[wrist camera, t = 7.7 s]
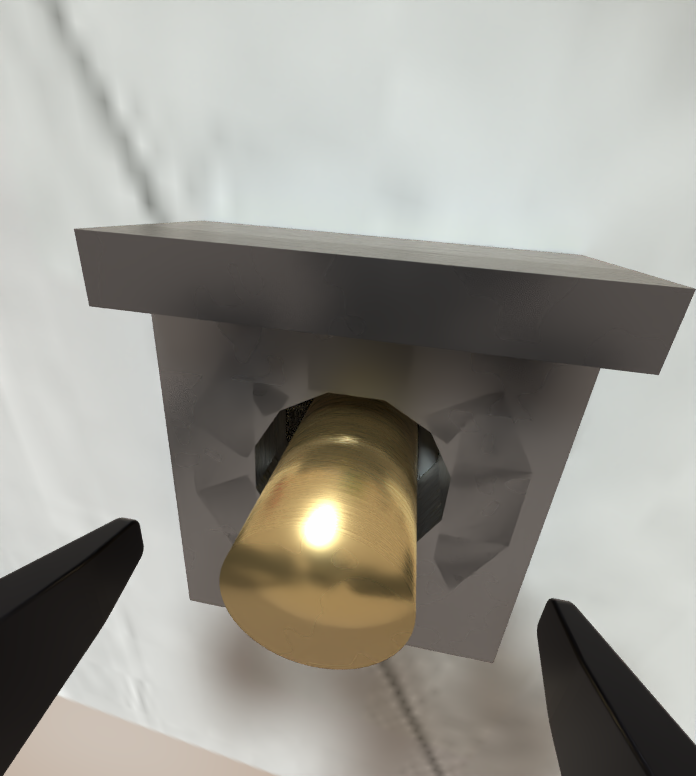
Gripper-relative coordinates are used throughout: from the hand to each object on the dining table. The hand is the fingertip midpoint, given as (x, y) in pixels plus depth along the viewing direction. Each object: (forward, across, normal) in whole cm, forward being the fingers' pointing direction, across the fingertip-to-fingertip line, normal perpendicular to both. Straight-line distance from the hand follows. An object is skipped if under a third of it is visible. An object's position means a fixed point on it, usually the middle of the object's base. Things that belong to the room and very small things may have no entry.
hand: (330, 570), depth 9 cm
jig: (+6, 0, 0) cm, 6 cm away
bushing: (+6, 0, 0) cm, 6 cm away
